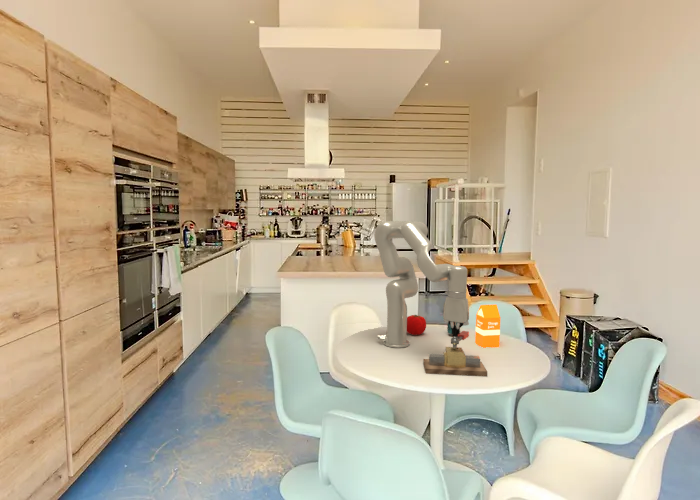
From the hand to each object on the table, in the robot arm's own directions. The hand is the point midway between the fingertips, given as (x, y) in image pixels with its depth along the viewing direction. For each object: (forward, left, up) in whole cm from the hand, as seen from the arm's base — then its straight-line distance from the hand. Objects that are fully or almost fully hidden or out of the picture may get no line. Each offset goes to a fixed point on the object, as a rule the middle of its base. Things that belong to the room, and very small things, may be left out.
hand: (455, 336), depth 190 cm
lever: (+1, -5, 0) cm, 5 cm away
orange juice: (+19, +26, -11) cm, 34 cm away
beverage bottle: (+5, +41, -11) cm, 43 cm away
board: (-2, -11, -11) cm, 15 cm away
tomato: (-15, +41, -11) cm, 45 cm away
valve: (-2, -11, -9) cm, 14 cm away
